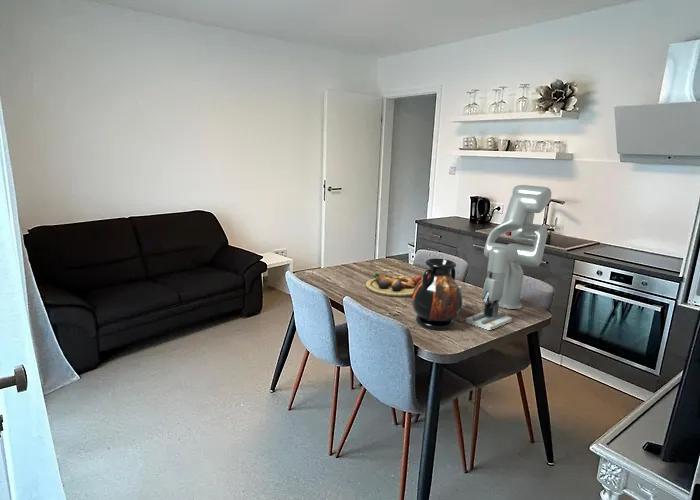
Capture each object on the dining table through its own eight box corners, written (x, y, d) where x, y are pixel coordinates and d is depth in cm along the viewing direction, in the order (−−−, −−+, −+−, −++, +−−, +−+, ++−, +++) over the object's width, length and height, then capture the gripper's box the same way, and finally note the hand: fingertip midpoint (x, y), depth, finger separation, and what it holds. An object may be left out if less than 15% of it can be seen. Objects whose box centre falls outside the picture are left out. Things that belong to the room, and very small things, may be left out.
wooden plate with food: (422, 282, 248) (423, 268, 246) (426, 300, 217) (427, 284, 215) (367, 278, 251) (367, 265, 249) (363, 296, 220) (363, 280, 218)
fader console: (487, 313, 202) (488, 307, 202) (511, 322, 194) (512, 315, 193) (465, 322, 191) (466, 315, 190) (489, 331, 182) (490, 324, 181)
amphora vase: (433, 311, 202) (438, 253, 196) (470, 327, 186) (477, 264, 179) (399, 319, 190) (404, 258, 183) (436, 338, 173) (443, 271, 167)
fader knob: (486, 314, 195) (488, 300, 193) (496, 318, 191) (498, 304, 190) (483, 316, 193) (485, 302, 191) (493, 319, 189) (495, 305, 188)
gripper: (497, 270, 196) (492, 308, 200) (477, 275, 185) (472, 315, 189) (513, 274, 190) (507, 313, 194) (493, 280, 180) (487, 321, 184)
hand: (490, 314), depth 192 cm, fingers closed on fader knob, 3 cm apart
